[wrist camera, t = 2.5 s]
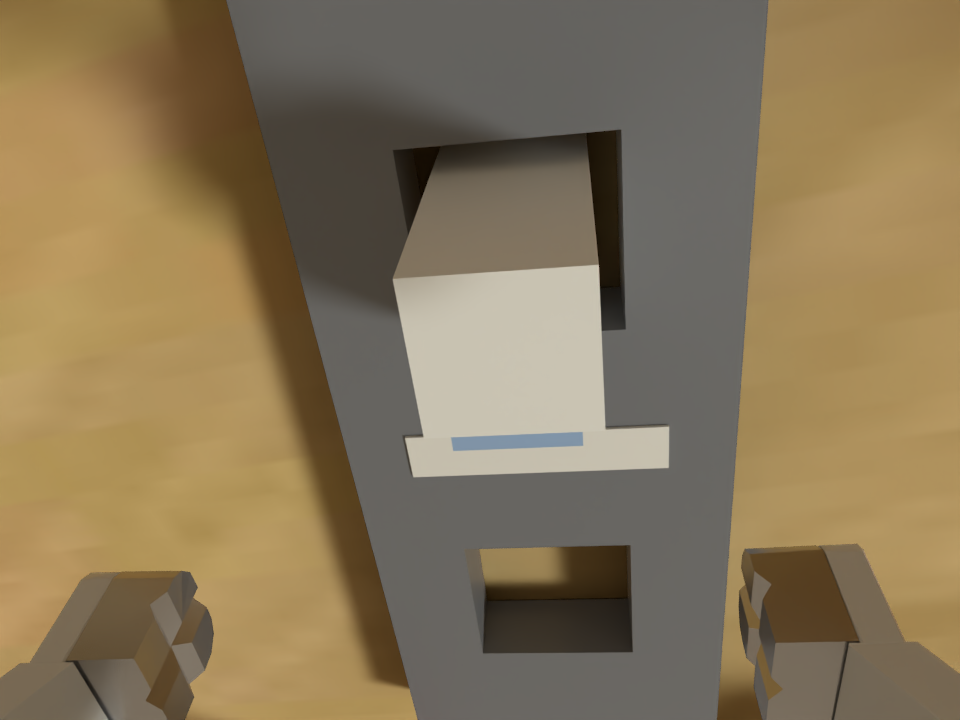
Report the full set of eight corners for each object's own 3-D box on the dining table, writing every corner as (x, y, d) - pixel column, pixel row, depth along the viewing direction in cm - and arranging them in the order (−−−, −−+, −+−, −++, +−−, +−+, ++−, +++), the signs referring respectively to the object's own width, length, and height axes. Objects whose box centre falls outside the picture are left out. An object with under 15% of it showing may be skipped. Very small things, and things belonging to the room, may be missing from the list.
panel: (756, -201, 18) (784, -204, 15) (705, 694, 35) (715, 751, 33) (232, -128, 19) (191, -122, 17) (432, 694, 36) (424, 749, 34)
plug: (585, 131, 22) (598, 265, 15) (593, 287, 25) (606, 459, 18) (440, 144, 22) (392, 278, 16) (463, 296, 25) (429, 466, 18)
